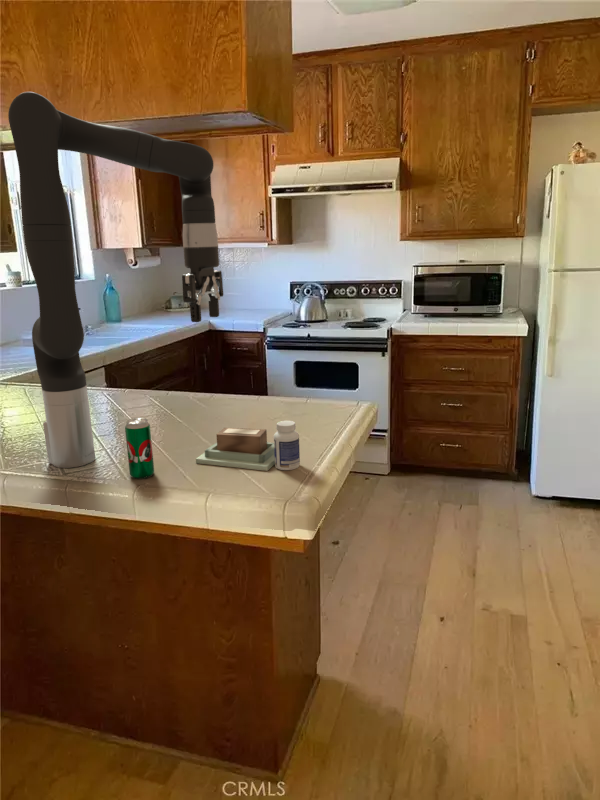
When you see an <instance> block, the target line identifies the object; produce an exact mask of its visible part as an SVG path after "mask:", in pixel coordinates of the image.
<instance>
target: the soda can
mask: <svg viewBox="0 0 600 800" xmlns="http://www.w3.org/2000/svg"><path fill="white" fill-rule="evenodd" d="M151 430H152V429H151V424H150V422H149V420H148V419H147V418H145V417H136V418H135V417H134V418H130V419H127V420H126V421H125V426H124V433H125V434H124V435H125V443H126V444H125V445H126V452H127V453H126V454H127V460H128V461H127V462H128V469H129V471H128V472H129V476H130V477H132V479H137V480H142V479H148V478H150V477H152V476H153V475H154V473H155V463H154V453H153V443H152V442H153V441H152V433H151Z"/></svg>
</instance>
